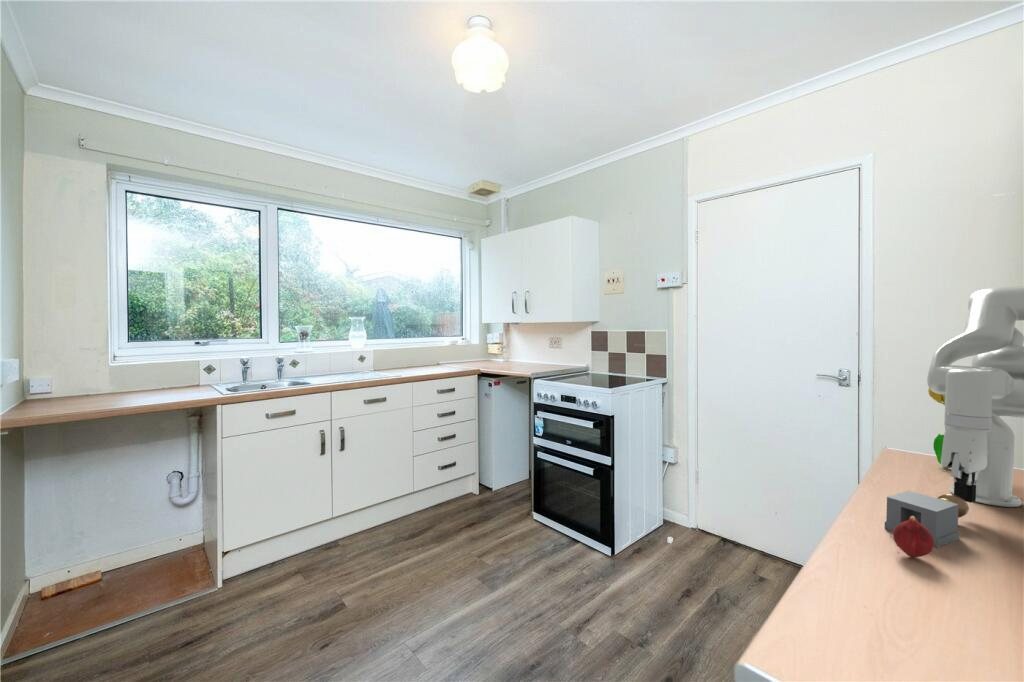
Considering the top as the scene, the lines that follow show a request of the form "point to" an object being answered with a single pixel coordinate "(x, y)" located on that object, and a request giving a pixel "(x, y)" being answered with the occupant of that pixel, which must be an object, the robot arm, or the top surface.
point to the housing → (924, 515)
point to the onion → (913, 538)
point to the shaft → (956, 499)
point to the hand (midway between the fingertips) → (964, 499)
